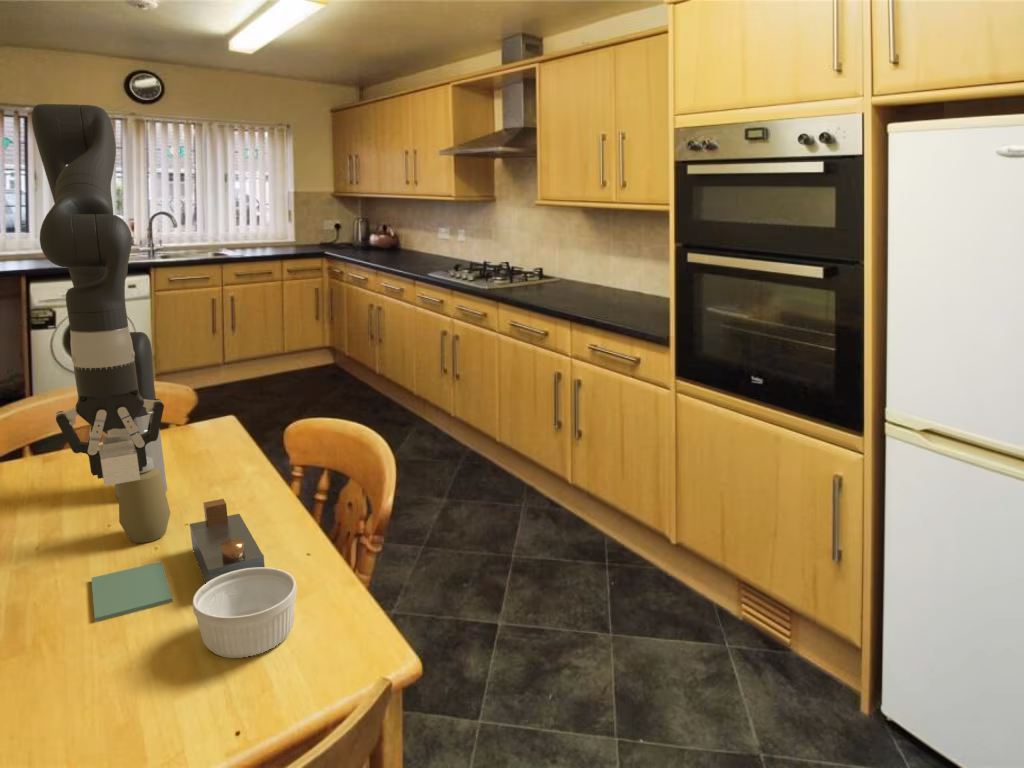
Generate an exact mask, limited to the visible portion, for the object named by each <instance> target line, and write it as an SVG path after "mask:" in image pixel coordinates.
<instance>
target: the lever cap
mask: <svg viewBox="0 0 1024 768" xmlns="http://www.w3.org/2000/svg"><path fill="white" fill-rule="evenodd" d="M101 441H102V444H99V447H98V450H99V454H100V460H101V467H102V474H103V478H102V480H103V484H104V487H106V486H107V487H108V486H112V485H115V484H119V483H124V482H130V481H135V480H140V473H139V466H138V458H137V452H136V450H135V447H134V444H133V441H132V440H128V438H127V435H125V436H118V437H111V438H108V437H105V438H104V437H103V438H101Z"/></svg>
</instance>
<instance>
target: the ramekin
mask: <svg viewBox="0 0 1024 768" xmlns="http://www.w3.org/2000/svg"><path fill="white" fill-rule="evenodd" d="M297 594H298V588H297V582H296V579H295V578H294V576H293V575H292V574H291V573H289V572H287V571H285V570H283V569H278V568H274V567H266V566H265V567H256V568H246V569H240V570H236V571H232V572H229V573H226V574H223V575H220V576H218V577H216V578H214V579H212V580H210V581H209V582H207V583H206V584H205V583H204V584H203V585H202V586H201V587H199V589H198V590H197V591H196V592H195V593H194V596H193V598H192V611H193V614H194V616H195V617H196V619H197V624H198V627H199V632H200V635H201V639H202V641H203V644H204V646H206V648H207V649H208V650H210V651H211V652H212V653H214V654H215V655H217V656H219V657H223V658H228V659H244V658H243V657H246V658H249V657H248V656H251V657H254V656H253V655H255V656H257V655H256V654H259V655H261V654H260V653H262V652H265V651H267V650H269V649H271V648H273V647H274V648H276V647H277V646H279V645H280V644H281V643H282V642H284V640H285V639H286V638H287V637H288V636H289V634H290V633H291V631H292V629H293V626H294V622H295V607H296V606H295V604H296V597H297ZM279 643H280V644H279ZM278 644H279V645H278ZM276 645H277V646H276ZM275 646H276V647H275ZM274 648H273V649H274ZM271 650H272V649H271ZM269 651H270V650H269ZM267 652H268V651H267ZM265 653H266V652H265ZM262 654H263V653H262Z"/></svg>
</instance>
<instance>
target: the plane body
mask: <svg viewBox="0 0 1024 768" xmlns="http://www.w3.org/2000/svg"><path fill="white" fill-rule="evenodd" d="M203 510H204V512H203V513H204V520H202V521H197V522H192V523H189V529H190V538H191V546H192V552H193V551H194V552H193V555H194V554H195V555H194V558H195V557H196V558H195V560H196V563H197V562H198V563H197V566H198V565H199V566H198V568H199V567H200V568H199V571H200V570H201V571H200V573H202V574H201V576H202V575H203V576H202V579H203V578H204V579H203V581H205V582H204V584H205V583H207V582H209V581H210V580H212V579H214V578H216V577H218V576H220V575H223V574H226V573H229V572H232V571H236V570H240V569H246V568H256V567H266V565H265V556H264V554H263V552H262V551H261V549H260V547H259V545H258V544H257V542H256V539H254V537H253V535H252V533H251V531H250V530H249V528H248V527H247V525H246V522H244V519H243V517H242V516H241V513H236V514H231V515H228V510H227V502H226V500H225V499H224V498H220V499H215V500H210V501H204V502H203Z"/></svg>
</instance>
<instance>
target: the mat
mask: <svg viewBox="0 0 1024 768" xmlns="http://www.w3.org/2000/svg"><path fill="white" fill-rule="evenodd" d="M91 590H92V591H91V592H92V600H93V601H92V602H93V613H94V614H93V615H94V622H95V623H96V622H101V621H105V620H108V619H112V618H117V617H119V616H123V615H128V614H131V613H135V612H139V611H143V610H147V609H150V608H154V607H158V606H162V605H165V604H168V603H169V604H170V603H172V602H173V596H172V592H171V588H170V585H169V581H168V579H167V574H166V572H165V566H164V564H163V561H162V560H161V561H157V562H153V563H149V564H144V565H141V566H137V567H132V568H128V569H123V570H119V571H118V570H117V571H114V572H110V573H106V574H100V575H98V576H93V577H91ZM173 603H174V602H173ZM146 608H147V609H146Z"/></svg>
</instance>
